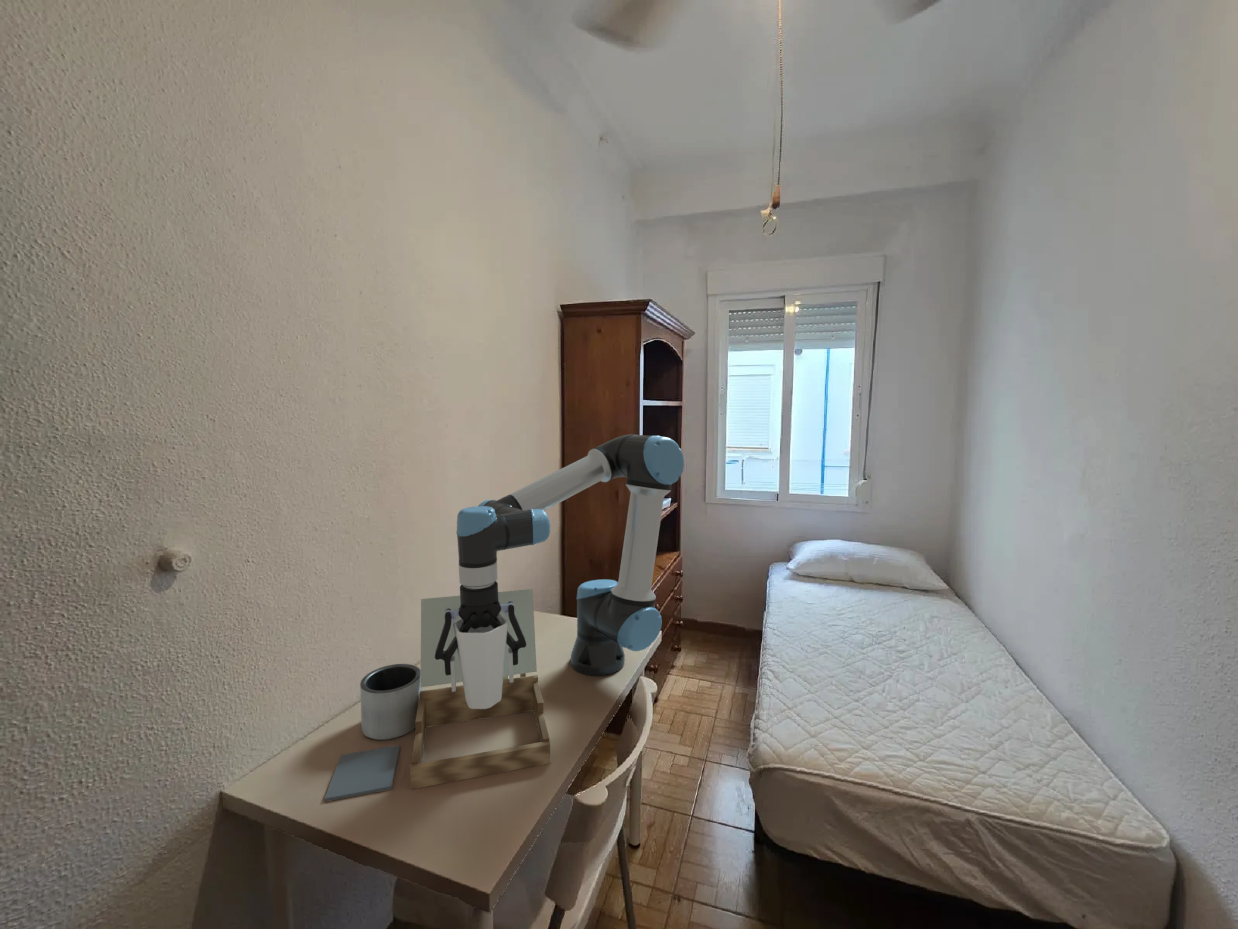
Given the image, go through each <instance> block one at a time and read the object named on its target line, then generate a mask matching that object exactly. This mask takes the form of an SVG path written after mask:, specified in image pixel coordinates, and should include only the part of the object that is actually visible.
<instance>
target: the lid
mask: <svg viewBox="0 0 1238 929" xmlns="http://www.w3.org/2000/svg"><path fill="white" fill-rule="evenodd" d="M533 590H534V589H531V588H530V589H522V590H521V589H518V590H508V591H498V601H499V603H500V604H508V602H510V601H512V602H513V605H514V614H515V616H516V619H517V621H518V623H519V626H520V628H521V630H522V633H523V635H524V637H525V640H526V647H524V648H520V649H519V650H518V664H517V665H513V676H515V675H520V674H523V673H526V674H530V673H537V671H538V669H537V666H538V665H537V651H536V650H537V649H536V631H535V610H534V591H533ZM460 605H461V603H460V595H453V596H452V595H451V596H442V597H441V596H439V597H431V598H430V597H428V598H420V670H421V687H422V688H427V687H434V686H441V685H447V684H451V675H446V674H445V662H444V660H442V659H439V660H436V659H435V652H436V648H437V645H438V642H439V639H440V636H441V633H442V629H443V626H444V623H445V610H446V609H448V608H449V609H451V610H456V609H459V608H460ZM500 613H501V614H502V615H503V616H504V618H505V619H506V620H507V622H508V627H507V631H508V632H509V634H510V635H511V636H512V637H513V639H514V640H515V641H518V638H517V636H516V634H515V631H514V629H513V627H512V624H511V622H510V620H509V616H508V615H506V614H505V613H504V611H502V610H501V611H500ZM459 619H461V617H460V616H457V617H456V619H455V621H457V620H459ZM455 621H452V622H451V628H450V631H449V634H448V637H447V640H446V643H445V646H444V649H443V651H445V650H447V648H448V647H449V645H450V643H451V642H452V640H453V639H454V637H455V633H454V627H453V623H454V622H455ZM508 647H509V646H508V645H507V643H506V650H505V662H504V674H503V676H508V677H509V664H508ZM453 655H455V672H456V684H457V683H463V681H462V675H461V669H460V663H459V657H458V651H457V649H456V651H455V653H454V654H453Z"/></svg>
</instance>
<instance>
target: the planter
mask: <svg viewBox="0 0 1238 929" xmlns="http://www.w3.org/2000/svg"><path fill="white" fill-rule="evenodd" d="M359 686H360V707H361V708H360V712H361V713H360V719H361V731H362V733H363V734H364V735H365V736H366V737H367V738H370V739H372V740H379V741H385V740H392V739H395V738H399V737H402V736H404V735H406V734H408V733H409V732H411V731H413V730H414V729H416V727H415V721H416V715H417V710H418V704H419V699H420V698H419V693H420V691H423V687H421V668H420V667H418V666H417V665H414V664H411V663H410V664H409V663H396V664H395V663H394V664H389V665H385V666H382V667H378V668H376V669H374V670H372V671H370V672H368V673H367V674H365V675H364V677H363V678H362V679H361V680H360V685H359Z"/></svg>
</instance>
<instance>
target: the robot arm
mask: <svg viewBox="0 0 1238 929" xmlns="http://www.w3.org/2000/svg"><path fill="white" fill-rule="evenodd" d="M684 467H685V459H684V454H683V451H682V449H681V448H680V446H679V444H678V442H676V441H675V440H673V439H672V438H670V437H666V436H660V435H646V434H645V435H643V434H633V433H632V434H629V433H628V434H624V435H621V436H617V437H615V438H613V439H610V440H608V441H606V442H604V443H602V444H600V445H597V446H596V447H594V448H592V449H590V450H589V451H588V453H587V455H586V456H584V457H583V458H580V459H578V460H576V461H575V462H572V463H570V464H568V465H566V466H565V467H562V468H560V469H558V470H556V471H555V472H552V473H550V474H548V475H546V476H544V477H542V478H540V479H538V480H535V481H534V482H532V483H530V484H528V485H526V486H524V487H522V488H520V489H518V490H516V491H514V492H512V493H510V494H507V495H506V496H503V497H501V498H499V499H497V500H495V499H487V500H484V501H482V502H480V503H479V504H478V505H475V506H467V507H465V508H462V509H461V510H459V512H458V513H457V518H456V537H457V550H458V552H457V553H458V579H459V584H460V585H459V596H460V603H461V605H460V608H459V609H456V610H451V609H449V608H448V609H446V610H445V623H444V626H443V629H442V633H441V636H440V639H439V642H438V645H437V648H436V652H435V659H436V660H439V659H442V660H444V662H445V674H446V675H451V683H450V684H451V687H452V692H455V691H456V686H457V683H456V672H455V655H453V654H454V653H455V651H456V649H457V648H458V642H457V638H456V637H454V639H453V640H452V642H451V643H450V645H449V647H448V648H447V650H445V651H443V649H444V646H445V643H446V640H447V637H448V634H449V631H450V628H451V622H452V621H455V619H456V617H457V616H460V617H461V618H462V620H463V623H462V625H461V627H460V629H459V632H462V633H467V632H468V631H469V629H470V628H473V629H476V628H479V627H488V626H489V625H491V626H492V627H493V628H494V629H495V628H497V627H499V626H501V625H502V624H501V622H500V621H499V619H498V618H497V616H498V614H499V613H500V611H501V610H502V611H504V613H505V614H506V615H508V616H509V620H510V622H511V624H512V627H513V629H514V631H515V634H516V636H517V638H518V641H515V640H514V639H513V637H512V636H511V635H510V634H509V632H508V631H507V638H506V643H507V645H508V646H509V647H508V664H509V675H508V679H509V680H510V683H512V682H513V678H514V675H513V665H517V664H518V650H519V649H520V648H524V647H526V640H525V637H524V635H523V633H522V630H521V628H520V626H519V623H518V621H517V619H516V616H515V614H514V605H513V602H512V601H510V602H508V604H500V603H499V601H498V592H499V583H498V581H497V580H498V556H497V555H498V552H500V551H506V550H511V549H515V548H517V549H518V548H522V547H528V546H534V545H537V544H540V543H543V542H546V541H547V540H548V538H549V537H550V534H551V522H550V519H549V515H548V514H547V512H546V511H547V510H549V509H550V508H553V507H554V506H556V505H558V504H559V503H561V502H563V501H565V500H568V499H569V498H571V497H572V496H575V495H576V494H579V493H581V492H582V491H584V490H586V489H588V488H590V487H592V486H593V485H595V484H598V483H599V482H602V483H608V482H609V481H611V480H614V479H616V478H626V480H625V487H627V489H628V491H629V492H630V496H629V501H628V502H629V503H628V510H627V516H626V517H627V518H626V523H625V524H626V525H625V532H624V540H623V546H622V554H621V561H620V567H619V568H620V569H619V574H618V581H616V580H615V579H607V578H606V579H603V578H602V579H595V580H594V579H592V580H588V581H585V582H583V583H580V585H579V586H578V587H577V593H576V601H577V602H576V628H577V629H576V633H577V634H576V638H575V642H574V644H573V647H572V650H571V653H570V665H571V667H572V668H573V669H574V670H575V671H576V672H579V673H580V674H583V675H587V676H588V675H589V676H594V677H595V676H597V675H599V676H605V675H606V674H608V675H611V674H614V673H616V671H617V672H618V671H620V670H621V669H622V668H623V667H624V666H625V663H624V662H625V660H626V658H625V657H626V654H625V651H624V649H627V650H629V651H633V652H640V651H643V650H645V649H648V648H649V647H650V646H651V645H652V643H654V642H655V641H656V639H657V638H658V636H659V634H660V632H661V629H662V625H663V624H662V623H663V619H662V615H661V613H660V611H659V610H658V609H657V608H656V607H655V605H656V599H657V597H656V596H657V595H656V594H655V593H654V591H653V590H652V585H653V578H654V577H653V576H654V570H655V562H656V557H657V549H658V548H657V547H658V544H659V543H658V541H659V536H660V535H659V534H660V533H659V532H660V529H661V528H660V527H661V519H662V514H663V507H664V506H663V505H664V498H665V496H667V495H668V494H669V493H671V491H672V484H675V483H676V482H678V480H679V478H681V477H682V474H683V473H684V469H685V468H684ZM623 665H624V666H623ZM621 667H622V668H621ZM606 676H607V675H606Z"/></svg>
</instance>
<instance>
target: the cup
mask: <svg viewBox="0 0 1238 929" xmlns="http://www.w3.org/2000/svg"><path fill="white" fill-rule="evenodd" d="M497 618H498V619H499V621H500V622H501V624H502V625H501V626H499V627H497V628H495V629H494V628H493V627H492V626H491V625H489V626H488V627H479V628H476V629H473V628H470V629H469V631H468V632H467V633H462V632H459V629H460V627H461V625H462V623H463V620H462V618H461V619H459V620H457V621H455V622H454V623H453V627H454V633H455V637H456V638H457V642H458V648H457V651H458V657H459V663H460V669H461V675H462V681H463V682H462V685H463V687H464V692H465V698H466V702H467V704H468V707H469V708H471V709H487V708H490V707H492V706H493V705H495V704H496V703H498V702H499V701H500V700H501V697H502V685H503V674H504V662H505V650H506V638H507V627H508V622H507V620H506V619H505V618H504V616H503V615H502V614H501V613H499V614H498V616H497Z"/></svg>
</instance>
